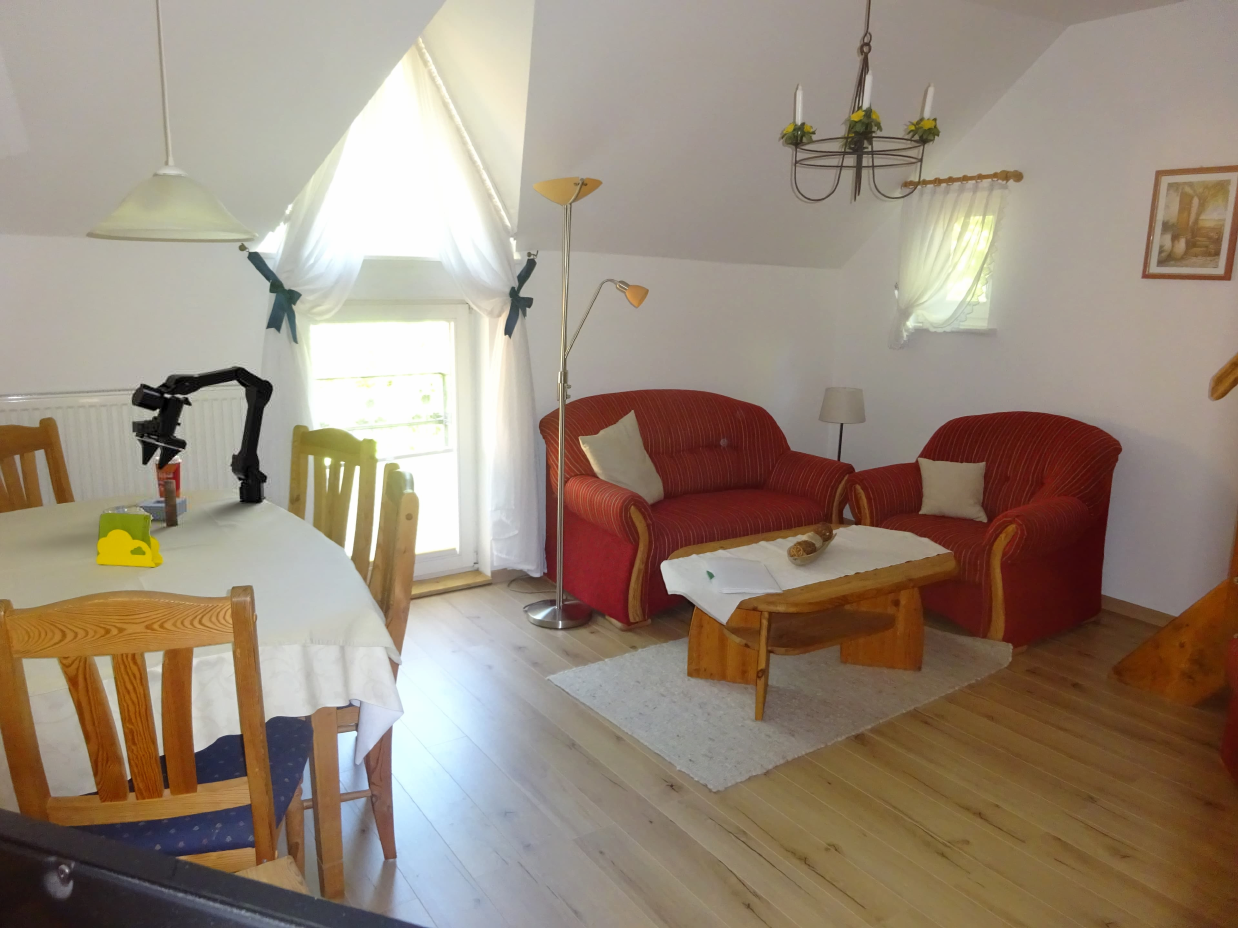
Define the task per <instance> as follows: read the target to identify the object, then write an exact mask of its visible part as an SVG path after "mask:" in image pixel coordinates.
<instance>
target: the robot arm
mask: <svg viewBox="0 0 1238 928" xmlns="http://www.w3.org/2000/svg"><path fill="white" fill-rule="evenodd" d="M229 382H237V384H239V386H241V387H243V388H244V395H245V399H246V400H245V401H246V403H247V407H246V408H247V409H246V416H245V420H244V421H245V422H244V428H243V432H242V433H243V434H242V438H241V439H242V440H241V446H240V450H239V451H238V453H237V454H234V453H233V454H232V455H231V463H230V465H229V467H230V468H231V473H232V474H233V475H234V476H235V477H236V479H237V480H238V482H240V485H239V487H238V493H239V503H249V504H250V503H256V504H257V503H262V502H263V501H264V500H266V499H267V497H266V496H265V484H266V483H267V479H268V476H267V475H266V474H265V473H264V472H263V471H261V470H260V464H261V462H260V459H259V455H258V446H259V442H260V441H259V440H260V435H261V430H262V425H263V424H262V423H263V417H264V410H265V408H266V406H267V405H268V404H269V402H270V401H271V397H272V396H273V392H274V386H273V384H272V382H270V381H269V380H267V379H263V378H261V377H260V376H258V375H256V374H254V373H252V372H250V371H249V370H247V369H246V368H245V367H242V366H237V365H236V366H235V365H233V366H231V367H227V368H222V369H218V370H217V369H216V370H213V371H207V372H200V373H193V374H191V373H190V374H189V373H187V374H185V373H181V374H180V373H179V374H178V373H177V374H176V373H175V374H170V375H168V376H167V378H166V380H164V382H162V383H161V384H159V385H158V386H157V387H154V386H153V387H152V386H150V385H148V384H146V383H142V382H141V383H140V385H139V387H138V388H136V390H135V391H134V392H132V396H131V404H132V406H134V407H137V408H141V409H143V410H148V411H151V412H156V411H157V410H158V412H157V416H156V415H154V416H152V418H151V419H144V420H133V421H131V428H132V431H131V432H132V433H133V434H135V436H134V437H136V441H138V443H139V444H140V446H141V464H142V465H143V466H147V465H148V464H149V462H150V461H151V459H152V458H153V457H154V456H155V454H156V452H157V451H158V450H160V452H159V456H160V457H159V456H158V457H159V462H158V468H157V469H159V470H162V469H163V468H164V467H165V466H166V465H167V464H168V463H169V462H170V461H171V460H172V459H173V458H174V457H175V456H178V455H179V454H180V453H182V452H183V450H186V449H187V445H188V443H187V441H186V439H183V438H180V437H179V438H178V437H177V436H176V435H175V434H176V430H177V427H181V424H182V423H181V422H179V421H180V417H181V415H182V413H183V409H184V406H188V407H193V404H192V402H191V401H190V399H189V397H188V395H191V394H194V393H196V392H198V391H199V390H201V389H202V388H206V387H211V386H215V385H220V384H225V383H229ZM166 395H168V396H169V397H168V396H166ZM178 395H180V396H182V397H180V396H178ZM261 501H262V502H261Z"/></svg>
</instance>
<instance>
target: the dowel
mask: <svg viewBox="0 0 1238 928" xmlns="http://www.w3.org/2000/svg"><path fill="white" fill-rule="evenodd" d="M163 487H164V502H165V516H166V519H165V526H166V527H169V528H170V527H176V526H178V525H179V522H178V521H179V520H178V517H177V502H176V487H175V480H164V481H163Z"/></svg>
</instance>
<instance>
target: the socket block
mask: <svg viewBox="0 0 1238 928" xmlns="http://www.w3.org/2000/svg"><path fill="white" fill-rule="evenodd" d="M176 502H177V518H178V517H180V516H182V515H183V514H184V513H187V511H188V506H187V505H188V504H187V498H186V497H185V498H184V497H180V498H176ZM137 507H140V508H142V509H143V510H144V511H145V512H147V513H149V514H150V515H152V517H153V519H152V520H166V516H165V502H164V498H160V497H150V498H149V499H147V500H144V501H143V502H141V503H139V504H137V505H136V508H137Z"/></svg>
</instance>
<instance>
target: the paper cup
mask: <svg viewBox="0 0 1238 928" xmlns="http://www.w3.org/2000/svg"><path fill="white" fill-rule="evenodd" d="M159 457H160V455H159V456H156V457H155V458H154V461H153V463H154V465H155V473H156V479H157V481H156V482H157V488H158V494H159V498H164V487H163V481H164V480H175V487H176V498H181V462H182V459H181V458H180V456H179V455H176V456H175V457H174V458H173V459H172V460H171V461H170V462H169V463H168V464H167V465H166V466H165V467H164V468H163V469H162V470H159V469H157V468H158V462H159Z"/></svg>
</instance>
